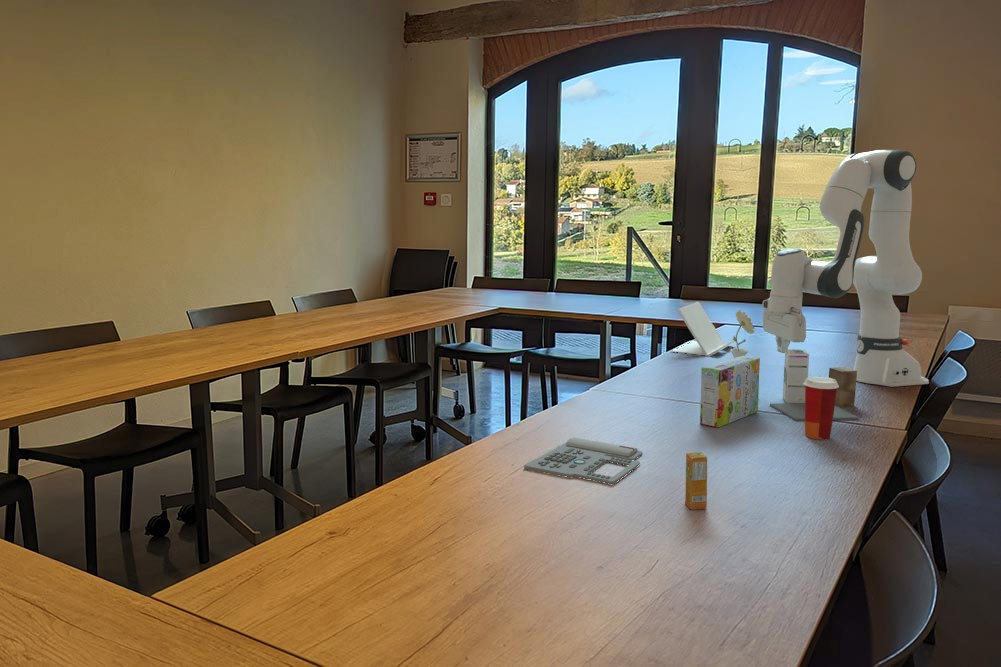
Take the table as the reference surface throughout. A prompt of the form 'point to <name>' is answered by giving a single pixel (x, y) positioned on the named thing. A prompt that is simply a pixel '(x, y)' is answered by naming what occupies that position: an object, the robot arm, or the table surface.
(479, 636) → the table surface
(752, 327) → the flower in vase
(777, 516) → the table surface
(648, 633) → the table surface
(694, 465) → the supplement box
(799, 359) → the syrup box
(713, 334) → the tablet stand
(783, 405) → the mat
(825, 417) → the paper cup
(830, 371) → the walnut block
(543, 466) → the office telephone
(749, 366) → the snack box
